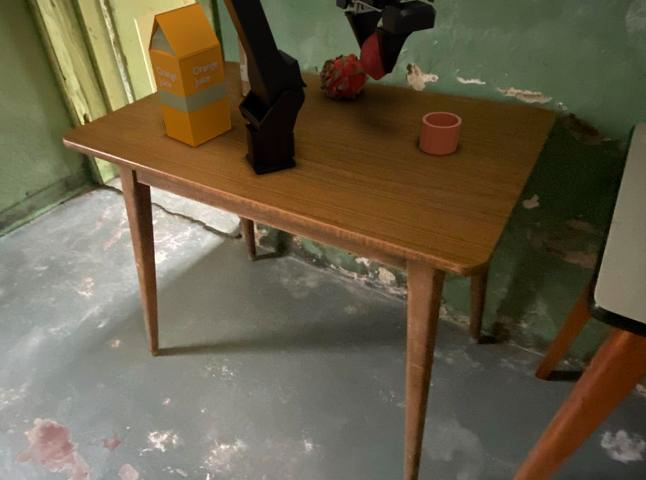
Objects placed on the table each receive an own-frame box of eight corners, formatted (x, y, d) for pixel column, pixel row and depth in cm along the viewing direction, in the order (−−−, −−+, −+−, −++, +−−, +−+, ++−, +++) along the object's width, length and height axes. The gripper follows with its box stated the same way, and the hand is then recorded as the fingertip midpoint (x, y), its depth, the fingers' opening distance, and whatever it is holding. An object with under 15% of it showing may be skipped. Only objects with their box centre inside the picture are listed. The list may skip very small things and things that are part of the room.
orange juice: (232, 128, 88) (216, 4, 75) (194, 147, 83) (170, 18, 70) (203, 118, 92) (183, -1, 79) (166, 135, 87) (138, 11, 74)
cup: (431, 158, 76) (436, 130, 73) (412, 142, 80) (415, 116, 77) (463, 150, 77) (469, 123, 74) (442, 135, 81) (447, 109, 78)
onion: (395, 87, 75) (400, 31, 69) (357, 87, 76) (359, 31, 70) (396, 73, 79) (400, 19, 74) (360, 73, 80) (362, 20, 75)
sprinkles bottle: (242, 91, 101) (234, 20, 92) (264, 89, 101) (258, 18, 92) (243, 100, 97) (235, 27, 89) (265, 97, 98) (260, 24, 89)
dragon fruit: (318, 113, 94) (358, 103, 101) (348, 95, 88) (389, 85, 94) (302, 70, 93) (344, 62, 100) (331, 48, 86) (374, 42, 93)
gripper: (481, -51, 61) (458, 76, 71) (401, -67, 74) (392, 42, 84) (402, -39, 58) (391, 91, 69) (335, -58, 72) (334, 53, 82)
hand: (378, 67), depth 76 cm, fingers closed on onion, 6 cm apart
